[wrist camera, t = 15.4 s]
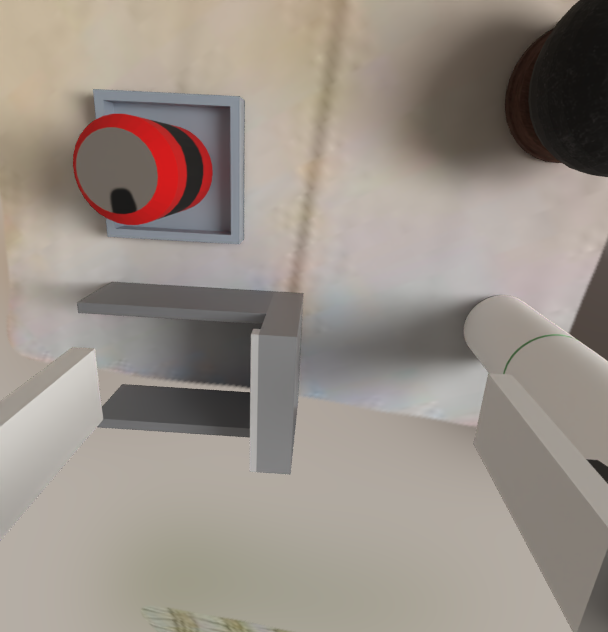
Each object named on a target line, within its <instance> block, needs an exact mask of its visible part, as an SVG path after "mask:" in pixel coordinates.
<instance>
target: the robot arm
mask: <svg viewBox="0 0 608 632" xmlns="http://www.w3.org/2000/svg"><path fill="white" fill-rule="evenodd" d="M102 420H103V413H102V405H101V396H100V388H99V380H98V371H97V363H96V354H95V349H92V348H76V347H72V348H71V349H69V350H68V351H67V352H65V353H64V354H63V355H61V356H60V357H59V358H57V359H56V360H55V361H53V362H52V363H51V364H49V365H48V366H47V367H46V368H44V369H43V370H42V371H40V372H39V373H37V374H36V375H35V376H33V377H32V378H31V379H29V380H28V381H27V382H25V383H24V384H23V385H21V386H20V387H19V388H17V389H16V390H15V391H13V392H12V393H11V394H9V395H8V396H7V397H5V398H4V399H2V400H1V401H0V541H1V540H2V538H3V537H4V536H5V535H6V534H7V533H8V531H9V530H10V529H11V528H12V526H13V525H14V524H15V523H16V522H17V521H18V520H19V518H20V517H21V516H22V515H23V513H24V512H25V511H26V510H27V509H28V508H29V507H30V505H31V504H32V503H33V502H34V501H35V499H36V498H37V497H38V496H39V495H40V494H41V492H42V491H43V490H44V489H45V488H46V486H47V485H48V484H49V483H50V482H51V480H52V479H53V478H54V477H55V476H56V475H57V473H58V472H59V471H60V470H61V469H62V467H63V466H64V465H65V464H66V463H67V462H68V461H69V459H70V458H71V457H72V456H73V455H74V453H75V452H76V451H77V450H78V448H79V447H80V446H81V445H82V444H83V442H84V441H85V440H86V439H87V438H88V437H89V436H90V434H91V433H92V432H93V431H94V430H95V429H96V427H97V426H98V425H99V424H100V423H101V422H102ZM474 446H475V448H476V450H477V452H478V453H479V455H480V457H481V459H482V461H483V463H484V465H485V467H486V469H487V470H488V472H489V474H490V476H491V478H492V480H493V482H494V484H495V486H496V487H497V489H498V491H499V493H500V495H501V497H502V499H503V501H504V503H505V504H506V506H507V508H508V510H509V512H510V514H511V516H512V518H513V520H514V521H515V523H516V525H517V527H518V529H519V531H520V533H521V535H522V536H523V538H524V540H525V542H526V544H527V546H528V548H529V550H530V552H531V553H532V555H533V557H534V559H535V561H536V563H537V565H538V567H539V569H540V571H541V572H542V574H543V576H544V578H545V580H546V581H547V584H548V586H549V587H550V589H551V591H552V593H553V595H554V597H555V599H556V600H557V603H558V604H559V606H560V608H561V610H562V612H563V614H564V616H565V617H566V620H567V621H568V623H569V625H570V627H571V629H572V631H573V632H608V466H606V465H605V464H603V463H602V462H600V461H599V460H591V459H585V458H584V456H583V455H582V454H581V453H580V452H579V451H578V450H577V448H576V447H575V446H574V445H573V444H572V443H571V442H570V440H569V439H568V438H567V437H566V436H565V435H564V434H563V432H562V431H561V430H560V429H559V428H558V427H557V426H556V425H555V423H554V422H553V421H552V420H551V419H550V418H549V417H548V415H547V414H546V413H545V412H544V411H543V410H542V409H541V407H540V406H539V405H538V404H537V403H536V402H535V401H534V400H533V398H532V397H531V396H530V395H529V394H528V393H527V392H526V390H525V389H524V388H523V387H522V386H521V385H520V384H519V382H518V381H517V380H516V379H515V378H514V377H513V376H512V375H508V374H492V373H488V377H487V382H486V387H485V391H484V396H483V401H482V406H481V410H480V415H479V420H478V425H477V429H476V434H475V439H474Z"/></svg>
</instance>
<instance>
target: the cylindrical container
mask: <svg viewBox="0 0 608 632" xmlns="http://www.w3.org/2000/svg"><path fill="white" fill-rule="evenodd" d="M464 338H465V341H466V343H467V345H468V347H469V348H470V349H471V351H472V352H473V353H474V354H475V356H476V357H477V358H478V360H479V361H480V362H481V364H482V365H483V366H484V367H485V369H486V370H487V371H488V373H492V374H508V375H512V376H513V377H514V378H515V379H516V380H517V381H518V382H519V384H520V385H521V386H522V387H523V388H524V389H525V390H526V392H527V393H528V394H529V395H530V396H531V397H532V398H533V400H534V401H535V402H536V403H537V404H538V405H539V406H540V407H541V409H542V410H543V411H544V412H545V413H546V414H547V415H548V417H549V418H550V419H551V420H552V421H553V422H554V423H555V425H556V426H557V427H558V428H559V429H560V430H561V431H562V432H563V434H564V435H565V436H566V437H567V438H568V439H569V440H570V442H571V443H572V444H573V445H574V446H575V447H576V448H577V450H578V451H579V452H580V453H581V454H582V455H583V456H584V458H585V459H591V460H599V461H600V462H602V463H603V464H605V465H606V466H608V361H606V360H605V359H604V358H602V357H601V356H599V355H598V354H597V353H595V352H594V351H592V350H591V349H590V348H588V347H587V346H585V345H584V344H582V343H581V342H580V341H578V340H577V339H575V338H574V337H573V336H571V335H570V334H568V333H567V332H566V331H564V330H563V329H561V328H560V327H559V326H557V325H556V324H554V323H553V322H551V321H550V320H549V319H547V318H546V317H544V316H543V315H542V314H540V313H539V312H537V311H536V310H535V309H533V308H532V307H530V306H529V305H528V304H526V303H525V302H523V301H522V300H520V299H518V298H516V297H513V296H508V295H498V296H493V297H489V298H487V299H485V300H483V301H481V302H480V303H478V304H477V305H476V306H475V307H474V308H473V309H472V310H471V312H470V313H469V314H468V316H467V318H466V321H465V324H464Z"/></svg>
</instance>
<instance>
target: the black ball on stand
mask: <svg viewBox="0 0 608 632" xmlns="http://www.w3.org/2000/svg"><path fill="white" fill-rule="evenodd" d="M505 112H506V120H507V123H508V126H509V129H510V132H511V134H512V136H513V137H514V139H515V141H516V142H517V144H518V145H519V146H520V147H521V148H522V149H523V150H524V151H525V152H527V153H529V154H530V155H532V156H533V157H535V158H538V159H541V160H543V161H548V162H556V163H563V164H565V165H566V166H568V167H569V168H572V169H575V170H578V171H580V172H583V173H587V174H591V175H596V176H604V177H608V0H579V1H578V2H577V3H576V4H575V5H574V6H572V7H571V9H570V10H569V11H568V12H567V13H566V14H565V15H564V16H563V17H562V19H561V20H560V21H559V22H558V23H557V25H556V26H555V28H554V29H552V30H550V31H548V32H547V33H545V34H544V35H542V36H541V37H540V38H539V39H537V40H536V41H535V42H534V43H533V44H532V45H531V46H530V47H529V48H528V49H527V50H526V51H525V53H524V54H523V55H522V57H521V58H520V60H519V61H518V63H517V64H516V66H515V68H514V70H513V73H512V75H511V77H510V80H509V83H508V87H507V91H506V100H505Z"/></svg>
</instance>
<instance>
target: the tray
mask: <svg viewBox="0 0 608 632" xmlns="http://www.w3.org/2000/svg"><path fill="white" fill-rule="evenodd" d="M93 94H94V104H95V114H96V119H98V118H100V117H102V116H105V115H110V114H128V115H132V116H137V117H141V118H145V119H149V120H153V121H157V122H161V123H166V124H170V125H174V126H178V127H181V128H184V129H186V130H188V131H190V132H191V133H193V134H194V135H195V136H196V137H197V138H198V139H199V140H200V141H201V142H202V143H203V144H204V146H205V147H206V149H207V151H208V153H209V155H210V158H211V162H212V170H213V176H212V183H211V186H210V189H209V191H208V193H207V194H206V196H205V197H204V198H203V199H202V201H201V202H200V203H198V204H197V205H195V206H194V207H192V208H189V209H187V210H184V211H181V212H178V213H175V214H172V215H169V216H166V217H163V218H160V219H157V220H154V221H152V222H149V223H145V224H140V225H125V224H120V223H116V222H114V221H112V220H109V219H107V218H106V225H107V235H108V237H122V238H140V239H157V240H175V241H193V242H210V243H228V244H240V243H241V242H242V241H243V240H244V108H245V100H244V99H242V98H241V97H240V96H221V95H201V94H181V93H161V92H141V91H121V90H101V89H93Z"/></svg>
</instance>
